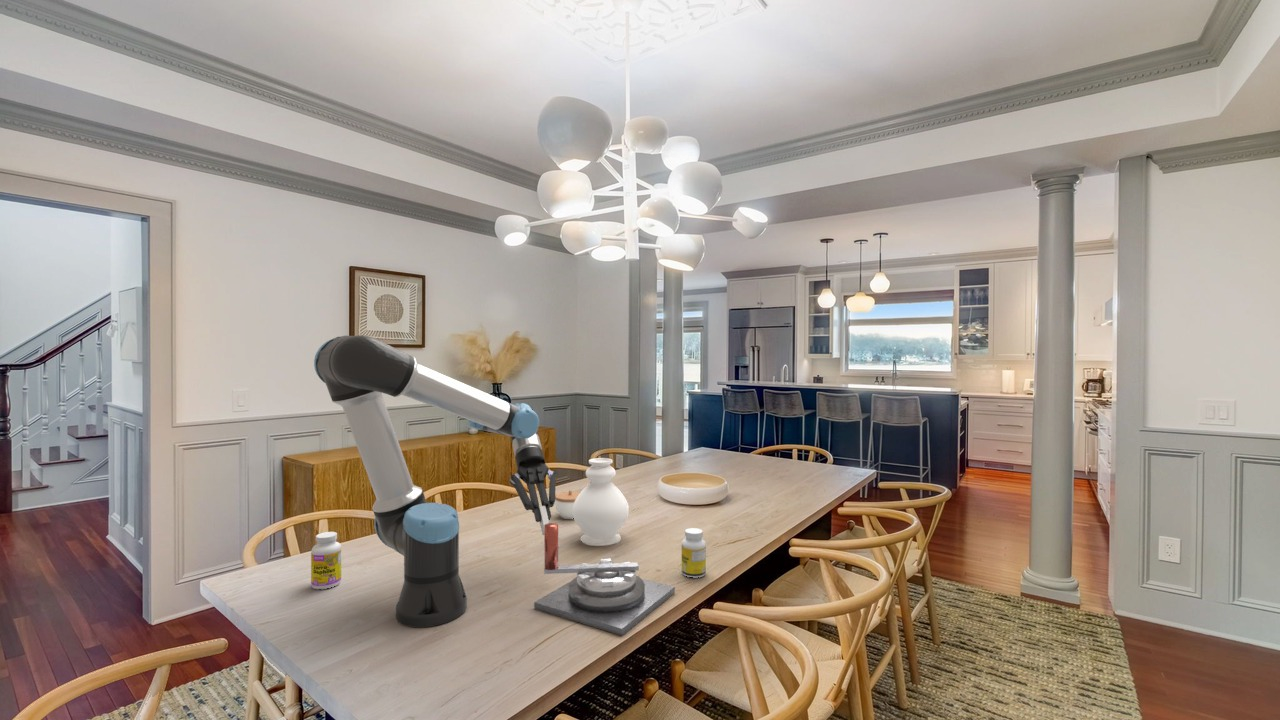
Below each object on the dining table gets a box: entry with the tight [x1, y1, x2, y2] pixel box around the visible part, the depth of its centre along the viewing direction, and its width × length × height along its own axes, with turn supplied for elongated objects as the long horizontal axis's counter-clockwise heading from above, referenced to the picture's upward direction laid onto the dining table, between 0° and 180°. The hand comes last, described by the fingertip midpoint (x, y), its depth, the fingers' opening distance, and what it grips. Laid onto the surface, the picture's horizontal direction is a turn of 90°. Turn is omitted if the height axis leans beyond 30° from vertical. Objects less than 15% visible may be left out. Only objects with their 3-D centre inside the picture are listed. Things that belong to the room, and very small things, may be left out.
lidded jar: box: [554, 490, 581, 520], centre depth 200 cm, size 11×11×9 cm
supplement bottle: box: [310, 531, 342, 590], centre depth 141 cm, size 7×7×13 cm
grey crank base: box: [533, 575, 676, 637], centre depth 132 cm, size 24×24×4 cm
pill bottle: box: [681, 527, 707, 579], centre depth 148 cm, size 6×6×12 cm
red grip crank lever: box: [543, 522, 639, 597], centre depth 132 cm, size 22×14×14 cm, turn 95°
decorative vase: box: [572, 457, 630, 547], centre depth 176 cm, size 18×18×25 cm
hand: (546, 532), depth 138 cm, fingers closed
